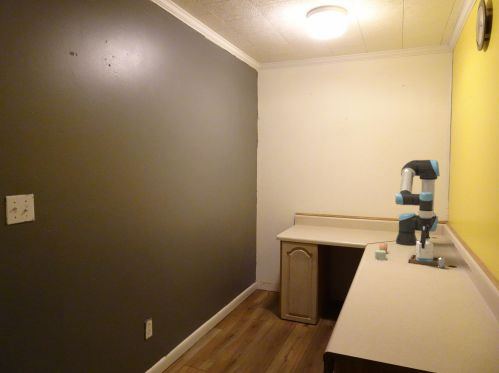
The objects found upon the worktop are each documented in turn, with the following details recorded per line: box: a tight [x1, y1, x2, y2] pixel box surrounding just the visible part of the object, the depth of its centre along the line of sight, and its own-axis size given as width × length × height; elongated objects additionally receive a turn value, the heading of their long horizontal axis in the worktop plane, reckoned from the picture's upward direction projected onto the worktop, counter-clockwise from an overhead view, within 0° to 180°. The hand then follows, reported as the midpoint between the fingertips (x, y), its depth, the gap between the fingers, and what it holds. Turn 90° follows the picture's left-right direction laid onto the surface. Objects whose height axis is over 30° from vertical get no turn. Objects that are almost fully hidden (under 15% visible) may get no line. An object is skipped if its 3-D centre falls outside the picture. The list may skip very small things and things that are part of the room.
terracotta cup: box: [379, 242, 388, 255], centre depth 246 cm, size 5×5×6 cm
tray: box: [407, 254, 438, 268], centre depth 223 cm, size 15×16×2 cm
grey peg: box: [437, 256, 446, 270], centre depth 210 cm, size 4×4×6 cm
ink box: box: [415, 240, 434, 263], centre depth 223 cm, size 9×8×13 cm
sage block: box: [374, 249, 387, 261], centre depth 231 cm, size 6×6×5 cm
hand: (424, 251), depth 223 cm, fingers open, 13 cm apart
